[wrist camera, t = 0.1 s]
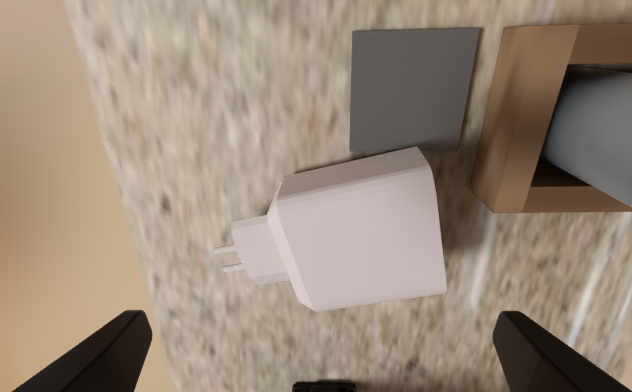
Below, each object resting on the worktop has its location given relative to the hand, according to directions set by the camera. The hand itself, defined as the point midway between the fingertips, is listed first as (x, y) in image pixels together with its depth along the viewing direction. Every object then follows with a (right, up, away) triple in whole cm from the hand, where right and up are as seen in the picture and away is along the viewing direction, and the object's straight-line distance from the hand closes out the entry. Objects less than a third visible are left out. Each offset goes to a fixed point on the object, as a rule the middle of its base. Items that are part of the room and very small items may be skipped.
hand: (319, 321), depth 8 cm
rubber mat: (+6, +9, +11) cm, 16 cm away
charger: (0, +1, +16) cm, 16 cm away
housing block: (+16, +8, +12) cm, 21 cm away
